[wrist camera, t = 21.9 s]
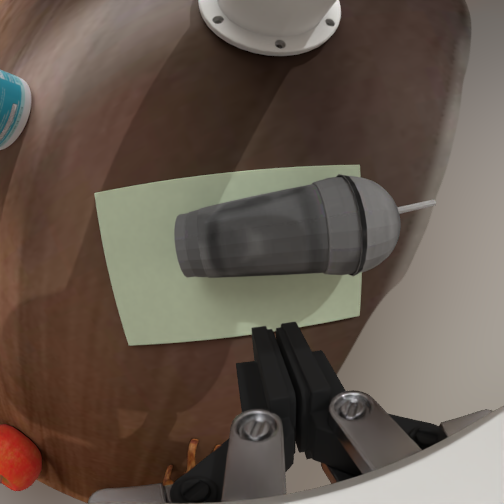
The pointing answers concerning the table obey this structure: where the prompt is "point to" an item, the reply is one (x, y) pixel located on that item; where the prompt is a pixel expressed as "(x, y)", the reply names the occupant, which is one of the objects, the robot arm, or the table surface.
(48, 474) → the table surface
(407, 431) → the robot arm
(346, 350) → the table surface
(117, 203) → the mat
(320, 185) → the beverage cup
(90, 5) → the table surface
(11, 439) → the apple
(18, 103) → the pill bottle
